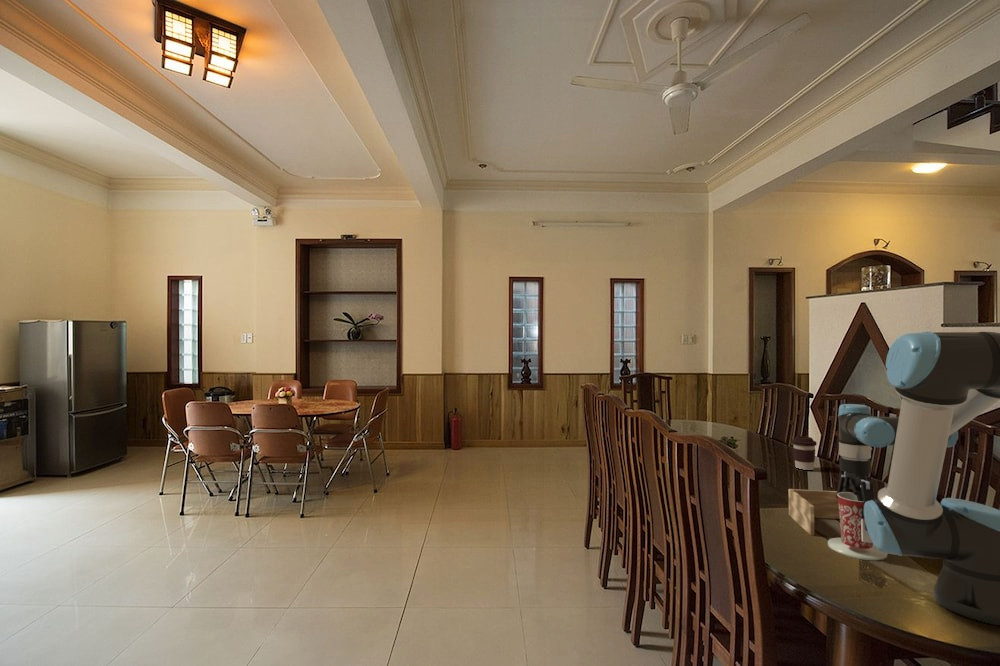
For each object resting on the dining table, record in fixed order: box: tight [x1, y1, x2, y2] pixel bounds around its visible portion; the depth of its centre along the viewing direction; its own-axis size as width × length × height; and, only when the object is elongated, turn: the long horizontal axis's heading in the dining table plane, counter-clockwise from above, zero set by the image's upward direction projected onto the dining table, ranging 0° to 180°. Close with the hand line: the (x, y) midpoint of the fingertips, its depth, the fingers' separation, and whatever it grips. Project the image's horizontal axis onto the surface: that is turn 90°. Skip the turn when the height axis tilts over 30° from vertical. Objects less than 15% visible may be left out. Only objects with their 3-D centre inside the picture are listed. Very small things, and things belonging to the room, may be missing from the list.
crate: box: [788, 488, 840, 536], centre depth 162 cm, size 18×17×9 cm
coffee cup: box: [791, 435, 817, 471], centre depth 234 cm, size 10×10×15 cm
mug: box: [837, 492, 877, 549], centre depth 144 cm, size 13×9×14 cm
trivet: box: [827, 537, 888, 562], centre depth 144 cm, size 14×14×1 cm
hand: (856, 533), depth 144 cm, fingers closed on mug, 12 cm apart
